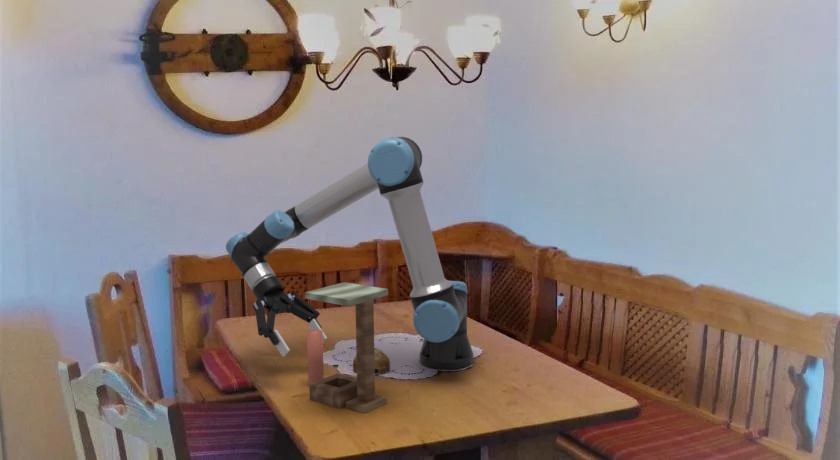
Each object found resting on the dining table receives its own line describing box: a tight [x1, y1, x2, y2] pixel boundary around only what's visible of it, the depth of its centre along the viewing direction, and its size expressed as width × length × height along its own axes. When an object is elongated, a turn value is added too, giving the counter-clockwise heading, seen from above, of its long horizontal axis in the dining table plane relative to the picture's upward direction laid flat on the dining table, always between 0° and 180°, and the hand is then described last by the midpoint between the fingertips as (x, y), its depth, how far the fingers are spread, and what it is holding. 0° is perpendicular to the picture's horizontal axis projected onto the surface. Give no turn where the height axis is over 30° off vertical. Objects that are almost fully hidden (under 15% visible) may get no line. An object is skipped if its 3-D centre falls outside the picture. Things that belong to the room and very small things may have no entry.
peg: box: [306, 329, 325, 386], centre depth 207 cm, size 4×4×14 cm
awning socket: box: [304, 281, 389, 414], centre depth 193 cm, size 17×14×28 cm
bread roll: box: [352, 347, 391, 375], centre depth 219 cm, size 10×10×8 cm
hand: (305, 347), depth 208 cm, fingers open, 13 cm apart
